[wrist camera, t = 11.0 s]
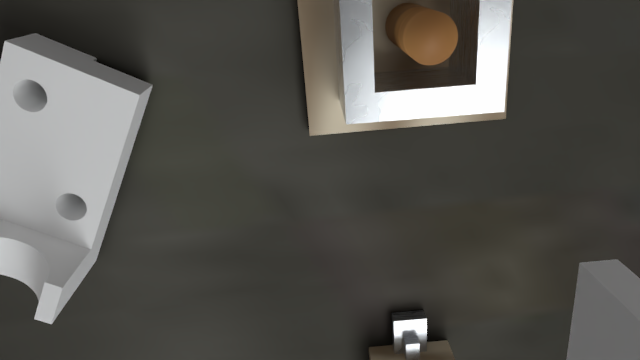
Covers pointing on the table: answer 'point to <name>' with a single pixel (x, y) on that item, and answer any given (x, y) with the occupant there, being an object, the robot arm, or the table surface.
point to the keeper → (378, 57)
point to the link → (429, 83)
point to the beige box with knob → (436, 356)
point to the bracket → (60, 162)
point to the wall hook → (409, 333)
